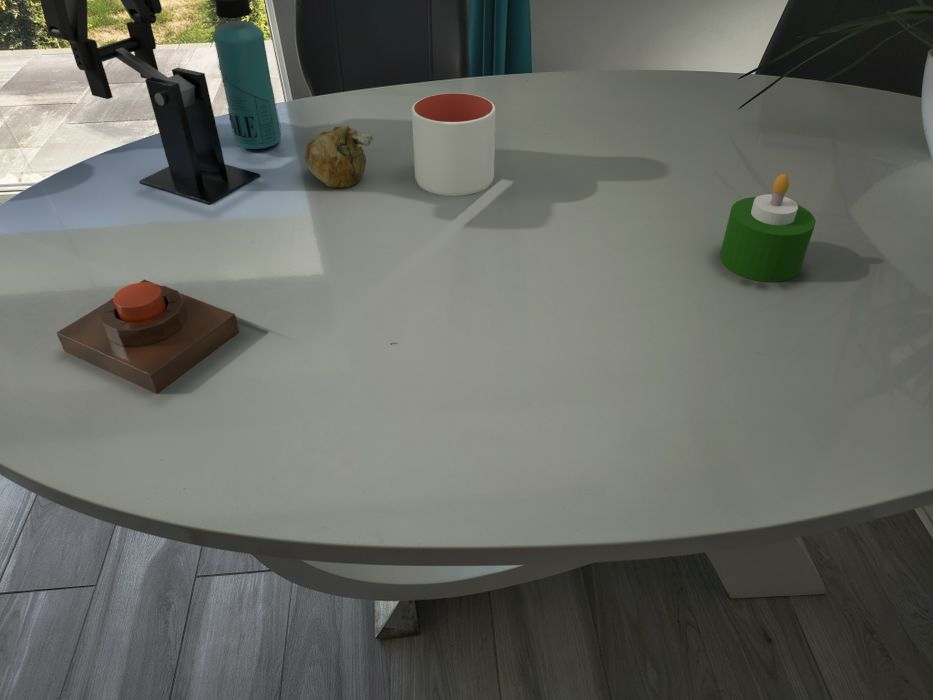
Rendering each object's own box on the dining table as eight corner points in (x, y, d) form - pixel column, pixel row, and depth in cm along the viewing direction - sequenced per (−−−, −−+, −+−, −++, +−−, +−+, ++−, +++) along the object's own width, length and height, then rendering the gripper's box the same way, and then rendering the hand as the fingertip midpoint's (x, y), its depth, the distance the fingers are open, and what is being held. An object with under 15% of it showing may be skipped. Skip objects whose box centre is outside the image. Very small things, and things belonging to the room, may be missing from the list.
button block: (64, 351, 67) (48, 316, 64) (150, 297, 74) (139, 263, 71) (157, 394, 62) (144, 358, 60) (239, 332, 69) (231, 297, 67)
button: (109, 315, 65) (103, 299, 64) (144, 293, 68) (139, 277, 67) (140, 328, 64) (134, 312, 63) (175, 305, 66) (170, 289, 65)
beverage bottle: (287, 140, 105) (262, -12, 92) (280, 159, 100) (253, 1, 87) (240, 141, 104) (209, -11, 92) (232, 161, 99) (197, 2, 87)
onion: (352, 165, 98) (346, 106, 93) (380, 188, 93) (375, 127, 88) (299, 179, 95) (290, 119, 90) (324, 203, 90) (316, 140, 85)
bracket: (141, 189, 93) (107, 79, 84) (194, 163, 99) (168, 57, 90) (211, 211, 88) (183, 97, 79) (262, 182, 94) (241, 73, 86)
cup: (444, 210, 88) (442, 129, 82) (400, 180, 94) (395, 104, 88) (509, 188, 93) (512, 110, 86) (463, 161, 99) (462, 87, 93)
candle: (785, 291, 74) (814, 201, 68) (707, 264, 78) (728, 178, 72) (810, 256, 79) (839, 170, 73) (736, 234, 83) (758, 150, 77)
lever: (90, 62, 86) (88, 43, 85) (130, 49, 90) (130, 30, 89) (168, 114, 85) (168, 96, 83) (206, 98, 89) (207, 81, 87)
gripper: (-3, -125, 68) (79, 118, 82) (161, -143, 81) (208, 69, 95) (-52, -130, 70) (36, 107, 85) (115, -146, 84) (166, 60, 98)
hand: (127, 86), depth 90 cm, fingers open, 7 cm apart
